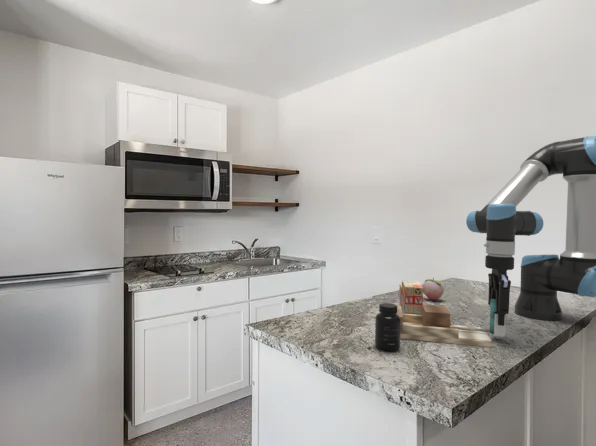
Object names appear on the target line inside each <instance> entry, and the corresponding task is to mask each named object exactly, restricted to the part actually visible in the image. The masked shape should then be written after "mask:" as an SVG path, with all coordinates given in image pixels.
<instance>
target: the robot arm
mask: <svg viewBox="0 0 596 446" xmlns="http://www.w3.org/2000/svg"><path fill="white" fill-rule="evenodd" d="M554 175H562V179H564V181H566V182H567V196H566V197H567V201H566V202H567V203H566V228H565V230H566V231H565V250H564V251H563V252H562V253H560V254H559V255H558V254H529V255H527V254H526V255H523V257H522V259H521V264H520V292H519V295H518V297H517V299H516V302H515V305H514V311H513V312H514V313H515V314H517V315H519V316H521V317H524V318H525V317H526V318H530V319H535V320H542V321H543V320H544V321H558V320H562V319H563V311H562V308H561V305H560V302H559V300H558V299H559V298H558V292H559V293H566V294H567V293H568V294H571V295H577V296H580V297H589V298H596V135H593V136H585V137H579V138H572V139H567V140H562V141H561V140H560V141H555V142H552V143H548V144H546V145H544V146H542V147H541V148H539V149H538V150H536V151H534V152H533V153H532V154H531V155H530V156H529V157H527V158H526V159H525V160H524V161H522V163H521V165H520V168H519V170H518V171H517V173H516V174H514V176H513V177H511V179H510V180H509V181H508V182H506V184H505V185H504V186H503V187H501V189H500V190H499V191H498V192H497V193H496V194H495V195H494V196H493V197H492V199H490V201H488V203H487V204H485V205H484V207H483V208H482V209H481V210H474V211H471V212H469V213H468V214H467V216H466V227H467V228H468V230H469V231H471V232H472V233H479V234H486V238H485V239H486V240H485V242H486V243H484V244H483V246H484V247H485V253H486V254H487V255H486V256H485V257H484V259H485V260H484V262H485V263H484V264H485V265H484V267H486V268H487V269H491V273H488V300H487V301H488V302H487V303H488V304H487V305H488V306H490V302H491V299H496V312H493V313H494V314H495V323H494V337H503V338H504V337H506V321H507V320H506V318H507V315H509V314H510V294H511V293H510V291H511V290H510V289H511V285H512V282H511V280H509V276H508V271H512V270H514V269H515V257H513V256H515V252H516V251H515V249H516V240H515V239H516V236H525V237H530V236H533V235H537V234H539V233H540V232H541V231H542V230H543V228H544V219H543V217H542V216H541V214H539V213H538V212H535V211H531V210H517V207H518V206H519V204H520V203H521V202H522V201H523V200H524V199H525V198H526V196H528V194H529V193H530V192H532V190H533V189H534V188H535V187H536V186H537V185H538V183H541V182H544V181H545V180H546V179H547V178H548V177H550V176H554Z"/></svg>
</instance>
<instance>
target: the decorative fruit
mask: <svg viewBox="0 0 596 446" xmlns="http://www.w3.org/2000/svg"><path fill="white" fill-rule="evenodd" d="M421 285H422V287H423V295H424V296H425V297H427V298H428V299H429V300H431V301H436V300H438V299H440V298H441V297H442V296H443V295H444V292H445V287H444V285H443V283H442V282H441V281H440V280H434V277H432V279H430V278H429V279H425V280H424V282H423V283H422V284H421Z"/></svg>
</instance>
